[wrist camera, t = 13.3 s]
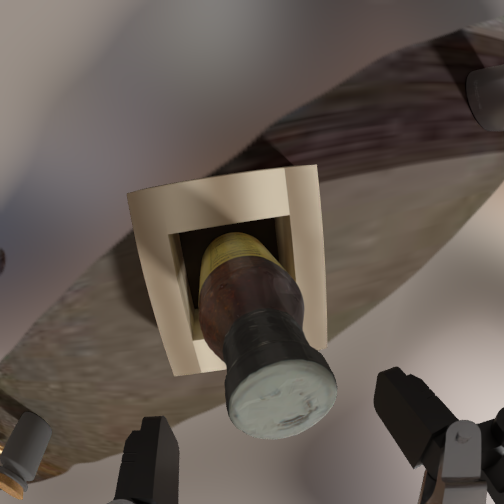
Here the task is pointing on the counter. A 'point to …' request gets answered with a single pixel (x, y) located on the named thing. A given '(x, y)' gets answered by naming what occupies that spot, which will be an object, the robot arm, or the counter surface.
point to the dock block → (222, 213)
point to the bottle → (23, 453)
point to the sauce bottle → (261, 340)
